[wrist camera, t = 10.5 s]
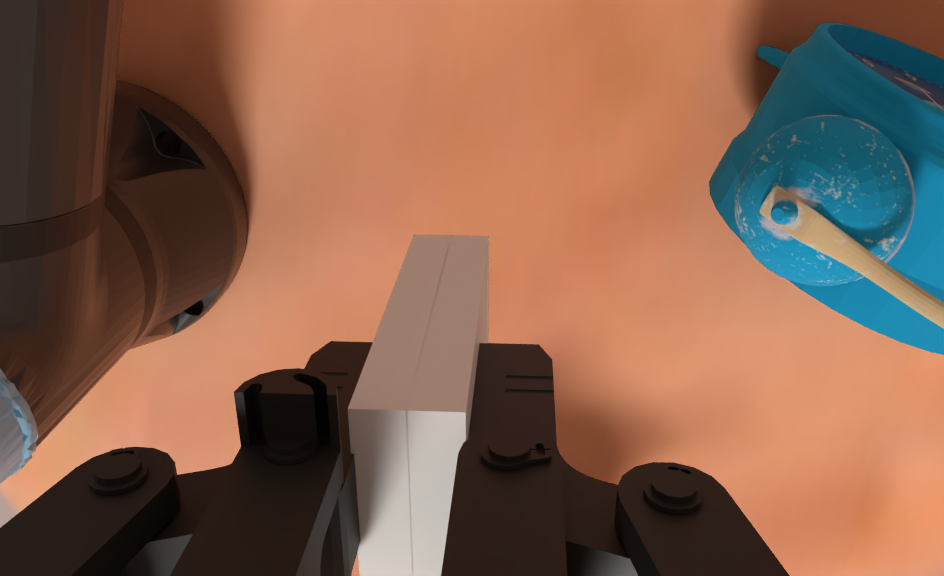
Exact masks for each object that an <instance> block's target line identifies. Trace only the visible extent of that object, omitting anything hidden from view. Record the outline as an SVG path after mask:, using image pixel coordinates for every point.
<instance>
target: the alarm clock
mask: <svg viewBox="0 0 944 576" xmlns="http://www.w3.org/2000/svg"><path fill="white" fill-rule="evenodd" d="M757 56H759V57H760V58H762V59H763V60H764V61H766V62H767V63H769V64H770V65H773V66H775V67H777V68H779V69H781V70H780V71H779V73H778V75H777V76H776V78H775V80H774V82H773V83H772V85H771V87H770V88H769V90H768V92H767V93H766V95H765V97H764V99H763V100H762V102H761V104H760V105H759V107H758V109H757V110H756V112H755V114H754V116H753V117H752V119H751V121H750V122H749V124H748V126H747V128H746V129H745V130H744V131H743V132H742V133H740V134H739V135H738V136H737V137H735V138H734V139H733V141H732V142H731V144H730V146H729V147H728V149H727V151H726V153H725V154H724V156H723V158H722V159H721V161H720V163H719V165H718V166H717V168H716V170H715V171H714V173H713V175H712V177H711V179H710V181H709V186H710V195H711V198H712V200H713V202H714V204H715V207H716V209H717V211H718V212H719V213H720V215H721V216H722V218H723V219H724V221H725V222H726V223H727V225H728V226H729V228H730V229H731V230H732V231H733V232H734V233H735V234H736V235H737V236H738V237H739V238H740V239H741V240H742V241H743V242H744V244H745V245H746V246H747V248H748V249H749V250H750V252H751V253H752V254H753V255H754V257H755V258H756V259H757V260H758V261H759V262H760V263H761V264H763V265H764V266H765V267H766V268H767V269H769V270H770V271H772V272H774V273H775V274H777V275H778V276H780V277H783V278H786V279H787V280H789V281H790V282H791V283H793V284H794V285H796V286H797V287H798V288H800V289H801V290H803V291H804V292H806V293H807V294H809V295H811V296H812V297H814V298H815V299H817V300H819V301H820V302H822V303H823V304H825V305H827V306H828V307H830V308H831V309H833V310H835V311H837V312H839V313H840V314H842V315H844V316H846V317H848V318H850V319H852V320H854V321H856V322H857V323H859V324H861V325H863V326H865V327H867V328H869V329H871V330H874V331H876V332H878V333H881V334H883V335H885V336H888V337H890V338H892V339H895V340H897V341H899V342H902V343H905V344H908V345H911V346H914V347H917V348H920V349H923V350H926V351H929V352H933V353H938V354H943V355H944V60H943V59H940V58H938V57H936V56H933V55H931V54H929V53H927V52H924V51H922V50H920V49H917V48H915V47H912V46H910V45H907V44H905V43H902V42H900V41H897V40H895V39H892V38H889V37H886V36H883V35H881V34H878V33H875V32H872V31H869V30H865V29H862V28H859V27H855V26H851V25H846V24H842V23H831V22H828V23H823V24H819V25H818V26H817V27H816V29H815V31H814V32H813V34H812V35H811V36H810V37H809V39H808V40H807V41H806V42H804V43H803V44H801V45H799V46H797V47H795V48H794V49H793V50H792V51H791V53H790V54H789V53H787V52H784V51H782V50H780V49H777V48H773V47H768V46H764V45H762V46H760V47H759V48H758V49H757Z"/></svg>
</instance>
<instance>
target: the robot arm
mask: <svg viewBox="0 0 944 576" xmlns="http://www.w3.org/2000/svg"><path fill="white" fill-rule="evenodd" d="M122 11H123V0H0V483H2V482H3V481H4V480H5V479H7V478H8V477H9V476H11V475H13V474H15V473H16V472H18V471H19V470H21V469H22V468H23V467H24V465H25V464H26V463H27V462H28V461H29V460H30V459H31V458H32V455H31V454H32V453H33V452H35V451H36V447H37V446H38V445H39V444H40V443H41V442H42V441H43V440H44V439H45V438H46V437H47V436H48V434H49V433H50V432H51V431H52V430H53V429H54V428H55V427H56V426H57V425H58V424H59V423H60V422H61V421H62V420H63V419H64V418H65V416H66V415H67V414H68V413H69V412H70V411H71V410H72V409H73V408H74V407H75V406H76V405H77V404H78V403H79V402H80V401H81V400H82V398H83V397H84V396H85V395H86V394H87V393H88V392H89V391H90V390H91V389H92V388H93V387H94V386H95V385H96V384H97V383H98V381H99V380H100V379H101V378H102V377H103V376H104V375H105V374H106V373H107V372H108V371H109V370H110V369H111V368H112V367H113V366H114V365H115V363H116V362H117V361H118V360H119V359H120V358H121V357H122V356H123V355H124V354H125V353H126V352H127V351H128V350H130V349H133V348H136V347H139V346H142V345H145V344H148V343H151V342H154V341H157V340H160V339H163V338H166V337H169V336H171V335H174V334H176V333H178V332H180V331H182V330H184V329H186V328H187V327H189V326H191V325H192V324H193V323H195V322H196V321H198V320H199V319H200V318H201V317H203V316H204V315H205V314H206V313H207V312H208V311H209V310H210V309H211V308H212V307H213V306H214V305H215V303H216V302H217V301H218V300H219V299H220V298H221V296H222V295H223V294H224V293H225V292H226V290H227V289H228V288H229V286H230V285H231V283H232V282H233V280H234V278H235V276H236V275H237V272H238V270H239V268H240V265H241V262H242V260H243V256H244V252H245V247H246V240H247V214H246V207H245V202H244V198H243V194H242V190H241V187H240V184H239V182H238V179H237V176H236V174H235V172H234V170H233V168H232V166H231V164H230V162H229V160H228V159H227V157H226V155H225V154H224V152H223V151H222V149H221V148H220V146H219V145H218V144H217V142H216V141H215V140H214V139H213V137H212V136H211V135H210V134H209V133H208V132H207V131H206V130H205V129H204V127H203V126H202V125H201V124H200V123H198V122H197V121H196V120H195V119H194V118H193V117H192V116H191V115H189V114H188V113H187V112H186V111H184V110H183V109H181V108H180V107H179V106H177V105H176V104H174V103H172V102H171V101H169V100H168V99H166V98H164V97H162V96H160V95H158V94H156V93H154V92H152V91H149V90H147V89H144V88H142V87H139V86H136V85H132V84H129V83H125V82H120V81H116V77H117V66H118V55H119V44H120V33H121V22H122ZM488 315H489V236H456V235H414V236H413V238H412V241H411V244H410V246H409V249H408V251H407V254H406V257H405V259H404V262H403V265H402V267H401V270H400V272H399V275H398V278H397V280H396V283H395V286H394V288H393V291H392V293H391V296H390V299H389V301H388V304H387V307H386V309H385V312H384V315H383V317H382V320H381V322H380V325H379V328H378V330H377V333H376V336H375V338H374V341H373V342H337V341H330V342H329V343H328V344H326V345H325V346H324V347H322V348H321V349H319V350H318V351H317V352H315V353H314V354H312V355H311V357H310V359H309V361H308V363H307V365H306V367H305V369H299V368H297V369H282V370H276V371H272V372H268V373H264V374H260V375H258V376H256V377H254V378H252V379H250V380H248V381H246V382H244V383H243V384H242V385H241V386H240V387H239V388H238V389H237V390H236V391H235V392H234V396H235V404H236V411H237V419H238V426H239V434H240V441H241V448H240V450H239V452H238V453H237V455H236V457H235V459H234V461H233V462H232V464H230V465H227V466H224V467H219V468H215V469H211V470H205V471H199V472H193V473H186V474H180V475H177V472H176V466H175V462H174V461H173V460H172V458H171V457H170V456H169V455H168V453H165V452H163V451H160V450H157V449H155V448H145V447H128V448H124V449H123V448H120V449H116V450H112V451H110V452H107V453H104V454H101V455H98V456H96V457H93V458H91V459H90V460H88V461H86V462H85V463H83V464H81V465H80V466H78V467H76V468H75V469H74V470H73V471H71V472H70V473H69V474H68V475H66V476H65V477H64V478H63V479H61V480H60V481H59V482H57V483H56V484H55V485H54V486H52V487H51V488H50V489H49V490H47V491H46V492H45V493H44V494H42V495H41V496H40V497H39V498H37V499H36V500H35V501H34V502H32V503H31V504H30V505H29V506H27V507H26V508H25V509H24V510H22V511H21V512H20V513H18V514H17V515H16V516H15V517H13V518H12V519H11V520H10V521H8V522H7V523H6V524H5V525H3V526H2V527H1V528H0V576H351V573H352V569H353V565H354V562H355V558H356V555H357V551H358V559H359V573H360V576H789V574H788V573H787V572H786V570H785V569H784V568H783V566H782V565H781V564H780V562H779V561H778V559H777V558H776V557H775V555H774V554H773V553H772V551H771V550H770V549H769V547H768V546H767V545H766V543H765V542H764V541H763V539H762V538H761V536H760V535H759V534H758V532H757V531H756V530H755V528H754V527H753V526H752V524H751V523H750V522H749V520H748V519H747V518H746V516H745V515H744V514H743V512H742V511H741V509H740V508H739V507H738V505H737V504H736V503H735V501H734V500H733V499H732V497H731V496H730V495H729V493H728V492H727V491H726V489H725V488H724V487H723V486H722V485H721V484H720V483H718V482H717V481H716V480H715V479H714V478H713V477H712V476H710V475H708V474H706V473H704V472H702V471H700V470H698V469H696V468H694V467H689V466H685V465H681V464H677V463H656V462H652V463H648V464H644V465H640V466H636V467H634V468H633V469H631V470H630V471H628V472H627V473H625V474H624V475H623V476H622V478H621V480H620V482H619V484H618V485H616V484H612V483H608V482H604V481H600V480H597V479H594V478H591V477H588V476H586V475H584V474H582V473H580V472H578V471H577V470H575V469H573V468H572V467H571V466H570V465H569V464H567V463H566V462H565V461H564V459H563V458H562V457H561V455H560V454H559V451H558V448H557V442H556V423H555V405H554V386H553V368H552V359H551V358H550V357H549V356H548V355H547V353H546V352H545V351H544V350H543V349H542V348H541V347H540V345H533V344H495V343H488Z"/></svg>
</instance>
